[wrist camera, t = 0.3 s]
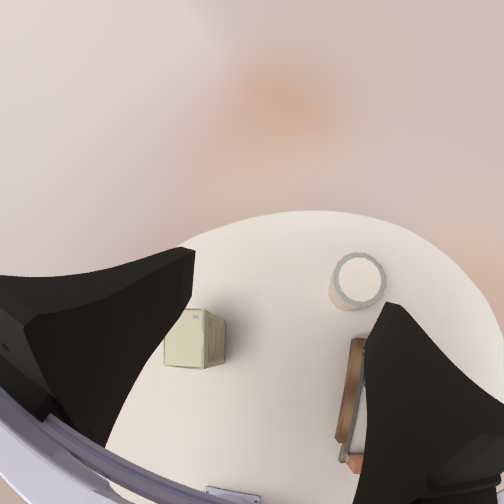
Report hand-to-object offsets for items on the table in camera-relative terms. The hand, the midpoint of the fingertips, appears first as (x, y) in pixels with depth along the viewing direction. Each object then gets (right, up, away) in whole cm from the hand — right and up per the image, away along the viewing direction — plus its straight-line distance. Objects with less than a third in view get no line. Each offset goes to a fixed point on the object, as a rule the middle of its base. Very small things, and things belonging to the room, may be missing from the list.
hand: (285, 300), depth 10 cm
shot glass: (+12, -4, +30) cm, 33 cm away
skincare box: (-7, -11, +29) cm, 32 cm away
